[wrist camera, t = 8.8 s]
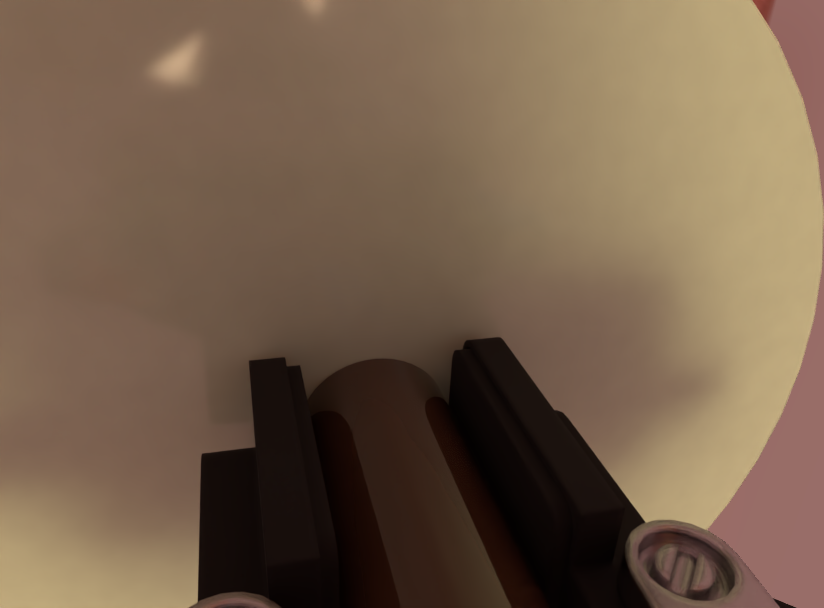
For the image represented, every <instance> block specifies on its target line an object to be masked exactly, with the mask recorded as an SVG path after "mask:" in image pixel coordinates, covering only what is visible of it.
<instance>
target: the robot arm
mask: <svg viewBox="0 0 824 608" xmlns="http://www.w3.org/2000/svg"><path fill="white" fill-rule="evenodd" d="M249 371H250V384H251V397H252V410H253V423H254V436H255V447H252V448H244V449H236V450H227V451H219V452H211V453H203V454H202V456H201V478H200V522H199V566H198V602H197V603H195V604H194V605H192V606H190V607H189V608H340V598H339V562H338V552H337V544H336V537H335V532H334V527H333V522H332V517H331V512H330V508H329V503H328V498H327V493H326V488H325V483H324V478H323V474H322V469H321V464H320V459H319V454H318V449H317V444H316V440H315V435H314V430H313V425H312V420H311V415H310V411H309V406H308V401H307V396H306V391H305V386H304V381H303V377H302V372H301V367H300V365H296V366H287V365H286V359H285V357H281V358H270V359H260V360H249ZM449 407H450V409H451V411H452V413H453V415H454V417H455V419H456V421H457V423H458V425H459V427H460V429H461V431H462V433H463V435H464V437H465V439H466V441H467V443H468V445H469V447H470V449H471V451H472V453H473V455H474V457H475V459H476V461H477V463H478V465H479V467H480V469H481V470H482V472H483V474H484V476H485V478H486V480H487V482H488V484H489V486H490V488H491V490H492V492H493V494H494V496H495V498H496V500H497V502H498V504H499V506H500V508H501V510H502V512H503V514H504V516H505V518H506V520H507V522H508V524H509V526H510V528H511V530H512V532H513V534H514V536H515V537H516V539H517V541H518V543H519V545H520V547H521V549H522V551H523V553H524V555H525V557H526V559H527V561H528V563H529V565H530V567H531V569H532V571H533V573H534V575H535V577H536V579H537V581H538V583H539V585H540V587H541V589H542V591H543V593H544V595H545V597H546V599H547V601H548V603H549V604H550V606H551V608H796V607H793V606H791V605H788V604H786V603H783V602H781V601H779V600H776V599H774V598H772V597H771V596H770V594H769V593H768V592H767V590H766V589H765V588H764V587H763V586H762V584H761V583H760V582H759V580H758V579H757V578H756V577H755V575H754V574H753V573H752V572H751V570H750V569H749V568H748V567H747V565H746V564H745V563H744V562H743V560H742V559H741V558H740V556H739V555H738V554H737V553H736V552H735V551H734V550H733V549H732V548H731V547H730V546H729V545H728V544H726V542H725V541H723V540H722V539H720V538H719V537H717V536H716V535H714V534H712V533H711V532H709V531H707V530H705V529H703V528H700V527H698V526H695V525H693V524H690V523H686V522H681V521H676V520H654V521H650V522H645V521H644V519H643V518H642V517H641V515H640V514H639V513H638V511H637V510H636V509H635V507H634V506H633V505H632V503H631V502H630V501H629V499H628V498H627V497H626V495H625V494H624V492H623V491H622V490H621V488H620V487H619V486H618V484H617V483H616V482H615V480H614V479H613V478H612V476H611V475H610V474H609V472H608V471H607V470H606V468H605V467H604V466H603V464H602V463H601V461H600V460H599V459H598V457H597V456H596V455H595V453H594V452H593V451H592V449H591V448H590V447H589V445H588V444H587V443H586V441H585V440H584V439H583V437H582V436H581V435H580V433H579V432H578V431H577V429H576V428H575V426H574V425H573V424H572V422H571V421H570V420H569V418H568V417H567V416H566V415H565V414H564V413H563V412H561V411H558V410H554V409H553V408H552V406H551V405H550V403H549V402H548V401H547V399H546V398H545V397H544V395H543V394H542V392H541V391H540V390H539V388H538V387H537V386H536V384H535V383H534V381H533V380H532V379H531V377H530V376H529V375H528V373H527V372H526V370H525V369H524V368H523V366H522V365H521V363H520V362H519V361H518V359H517V358H516V357H515V355H514V354H513V352H512V351H511V350H510V348H509V347H508V346H507V344H506V343H505V341H504V340H503V339H502V338H501V337H494V338H484V339H473V340H466V341H465V343H464V345H463V349H461V350H455V351H454V353H453V356H452V367H451V380H450V392H449Z"/></svg>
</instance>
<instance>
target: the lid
mask: <svg viewBox="0 0 824 608" xmlns="http://www.w3.org/2000/svg"><path fill="white" fill-rule="evenodd" d="M823 224H824V209H823V201H822V191H821V182H820V173H819V164H818V155H817V152H816V148H815V143H814V140H813V136H812V132H811V128H810V125H809V121H808V117H807V113H806V109H805V105H804V101H803V98H802V95H801V93H800V91H799V88H798V86H797V84H796V81H795V79H794V77H793V74H792V72H791V70H790V68H789V65H788V63H787V61H786V58H785V56H784V54H783V51H782V49H781V47H780V44H779V42H778V40H777V38H776V37H775V35H774V34H773V32H772V30H771V29H770V27H769V26H768V24H767V23H766V21H765V20H764V18H763V16H762V15H761V13H760V12H759V10H758V9H757V7H756V5H755V4H754V2H753V1H752V0H0V608H189V607H190V606H192V605H194V604H195V603H197V602H198V566H199V522H200V478H201V456H202V454H203V453H211V452H219V451H227V450H236V449H244V448H252V447H255V436H254V423H253V410H252V397H251V384H250V371H249V360H260V359H270V358H281V357H285V359H286V365H287V366H296V365H300V367H301V372H302V377H303V381H304V386H305V391H306V396H307V401H308V406H309V411H310V415H311V420H312V425H313V430H314V435H315V440H316V444H317V449H318V454H319V459H320V464H321V469H322V474H323V478H324V483H325V488H326V493H327V498H328V503H329V508H330V512H331V517H332V522H333V527H334V532H335V537H336V544H337V552H338V562H339V598H340V608H551V606H550V604H549V603H548V601H547V599H546V597H545V595H544V593H543V591H542V589H541V587H540V585H539V583H538V581H537V579H536V577H535V575H534V573H533V571H532V569H531V567H530V565H529V563H528V561H527V559H526V557H525V555H524V553H523V551H522V549H521V547H520V545H519V543H518V541H517V539H516V537H515V536H514V534H513V532H512V530H511V528H510V526H509V524H508V522H507V520H506V518H505V516H504V514H503V512H502V510H501V508H500V506H499V504H498V502H497V500H496V498H495V496H494V494H493V492H492V490H491V488H490V486H489V484H488V482H487V480H486V478H485V476H484V474H483V472H482V470H481V469H480V467H479V465H478V463H477V461H476V459H475V457H474V455H473V453H472V451H471V449H470V447H469V445H468V443H467V441H466V439H465V437H464V435H463V433H462V431H461V429H460V427H459V425H458V423H457V421H456V419H455V417H454V415H453V413H452V411H451V409H450V407H449V392H450V380H451V367H452V356H453V353H454V351H455V350H461V349H463V345H464V343H465V341H466V340H473V339H484V338H494V337H501V338H502V339H503V340H504V341H505V343H506V344H507V346H508V347H509V348H510V350H511V351H512V352H513V354H514V355H515V357H516V358H517V359H518V361H519V362H520V363H521V365H522V366H523V368H524V369H525V370H526V372H527V373H528V375H529V376H530V377H531V379H532V380H533V381H534V383H535V384H536V386H537V387H538V388H539V390H540V391H541V392H542V394H543V395H544V397H545V398H546V399H547V401H548V402H549V403H550V405H551V406H552V408H553V409H554V410H558V411H561V412H563V413H564V414H565V415H566V416H567V417H568V418H569V420H570V421H571V422H572V424H573V425H574V426H575V428H576V429H577V431H578V432H579V433H580V435H581V436H582V437H583V439H584V440H585V441H586V443H587V444H588V445H589V447H590V448H591V449H592V451H593V452H594V453H595V455H596V456H597V457H598V459H599V460H600V461H601V463H602V464H603V466H604V467H605V468H606V470H607V471H608V472H609V474H610V475H611V476H612V478H613V479H614V480H615V482H616V483H617V484H618V486H619V487H620V488H621V490H622V491H623V492H624V494H625V495H626V497H627V498H628V499H629V501H630V502H631V503H632V505H633V506H634V507H635V509H636V510H637V511H638V513H639V514H640V515H641V517H642V518H643V519H644V521H645V522H650V521H654V520H676V521H681V522H686V523H690V524H693V525H695V526H698V527H700V528H703V529H705V530H707V529H708V528H709V527H710V526H711V524H712V523H713V522H714V521H715V519H716V518H717V517H718V516H719V514H720V513H721V512H722V511H723V510H724V508H725V507H726V506H727V505H728V503H729V502H730V501H731V499H732V498H733V496H734V494H735V493H736V492H737V490H738V489H739V487H740V486H741V484H742V483H743V481H744V480H745V478H746V477H747V475H748V474H749V472H750V471H751V469H752V468H753V466H754V465H755V463H756V462H757V460H758V458H759V456H760V455H761V453H762V451H763V449H764V447H765V445H766V443H767V441H768V440H769V438H770V436H771V434H772V432H773V430H774V428H775V426H776V425H777V423H778V421H779V419H780V417H781V415H782V412H783V410H784V408H785V405H786V403H787V400H788V397H789V395H790V392H791V390H792V388H793V385H794V383H795V380H796V378H797V375H798V373H799V370H800V368H801V364H802V361H803V357H804V353H805V350H806V346H807V343H808V339H809V336H810V332H811V328H812V325H813V321H814V317H815V310H816V304H817V298H818V291H819V285H820V278H821V272H822V260H823Z"/></svg>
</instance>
